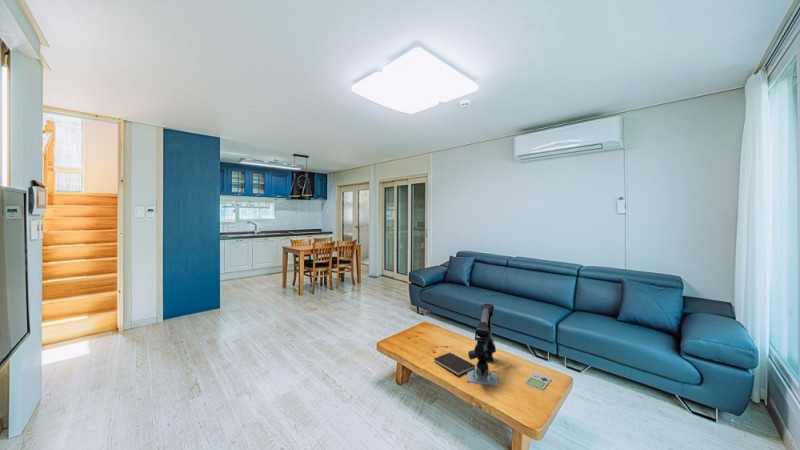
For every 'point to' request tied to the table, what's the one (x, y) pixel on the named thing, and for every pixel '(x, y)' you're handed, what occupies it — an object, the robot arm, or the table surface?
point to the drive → (480, 372)
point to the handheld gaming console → (538, 381)
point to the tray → (482, 378)
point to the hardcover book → (454, 364)
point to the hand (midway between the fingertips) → (482, 372)
